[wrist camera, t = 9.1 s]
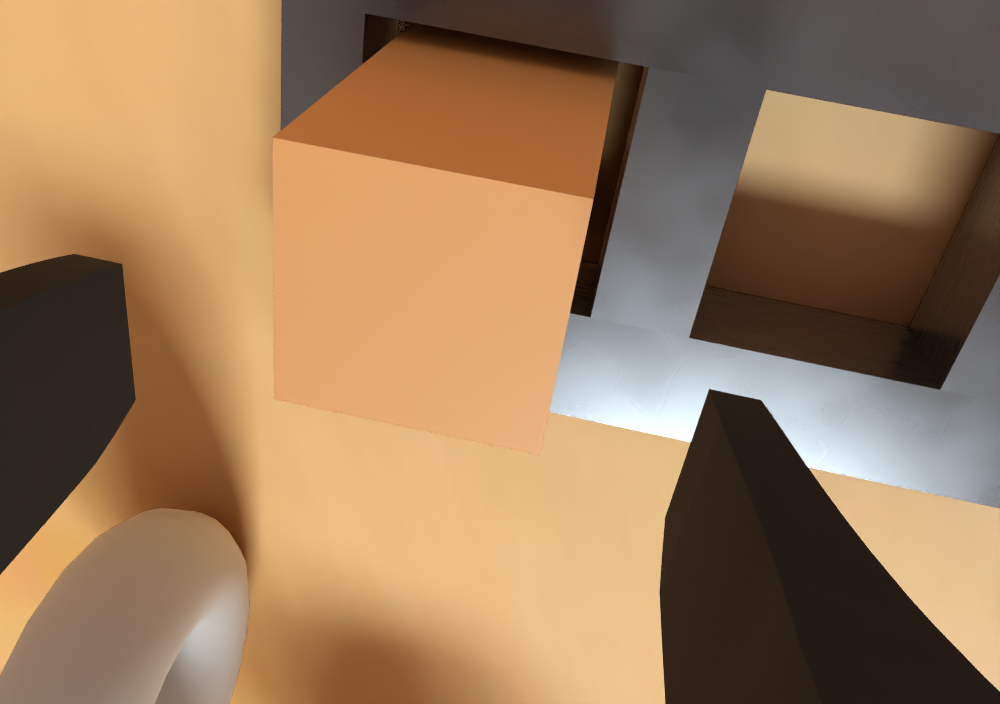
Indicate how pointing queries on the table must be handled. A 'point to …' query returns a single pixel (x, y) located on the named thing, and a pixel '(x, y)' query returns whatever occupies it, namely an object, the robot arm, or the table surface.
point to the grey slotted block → (704, 207)
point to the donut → (139, 619)
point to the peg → (437, 234)
